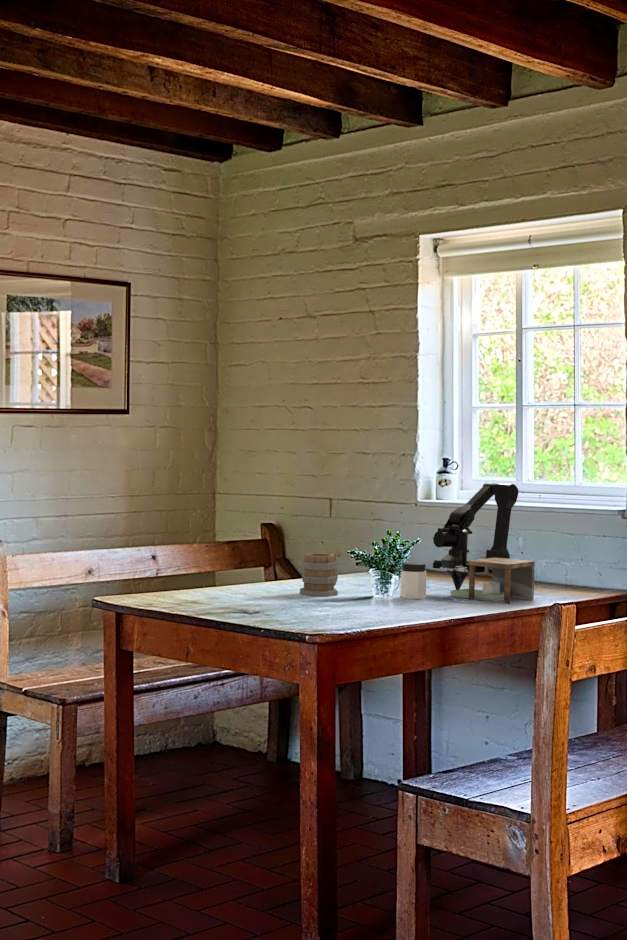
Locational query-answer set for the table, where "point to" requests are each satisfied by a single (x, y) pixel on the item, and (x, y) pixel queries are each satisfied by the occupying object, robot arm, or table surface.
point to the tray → (482, 592)
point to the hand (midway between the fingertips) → (457, 590)
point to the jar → (413, 580)
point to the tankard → (320, 574)
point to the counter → (507, 577)
